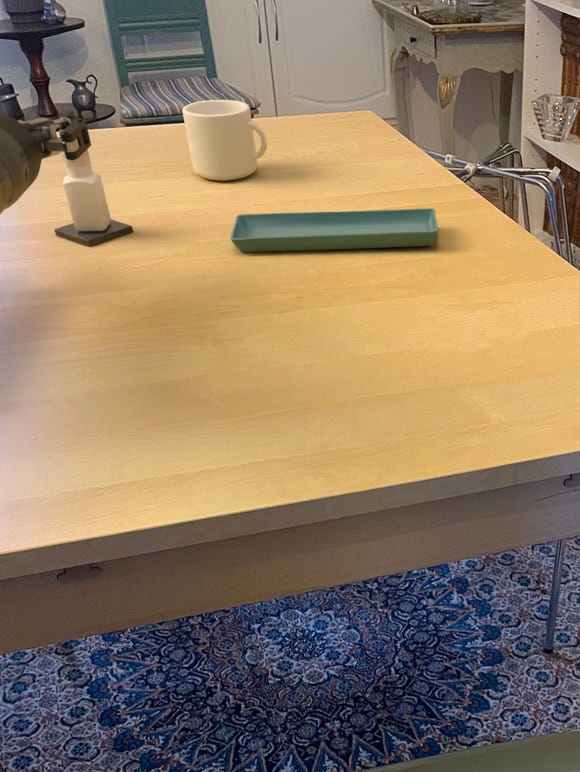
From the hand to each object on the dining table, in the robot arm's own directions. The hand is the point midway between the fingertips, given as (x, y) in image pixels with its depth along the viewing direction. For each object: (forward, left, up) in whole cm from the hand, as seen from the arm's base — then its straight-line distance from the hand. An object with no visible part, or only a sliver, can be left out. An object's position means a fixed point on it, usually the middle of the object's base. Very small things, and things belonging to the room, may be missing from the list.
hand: (33, 120), depth 104 cm
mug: (+38, +12, -16) cm, 43 cm away
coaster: (+9, +7, -16) cm, 19 cm away
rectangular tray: (+26, -20, -16) cm, 37 cm away
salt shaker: (+9, +7, -15) cm, 19 cm away
